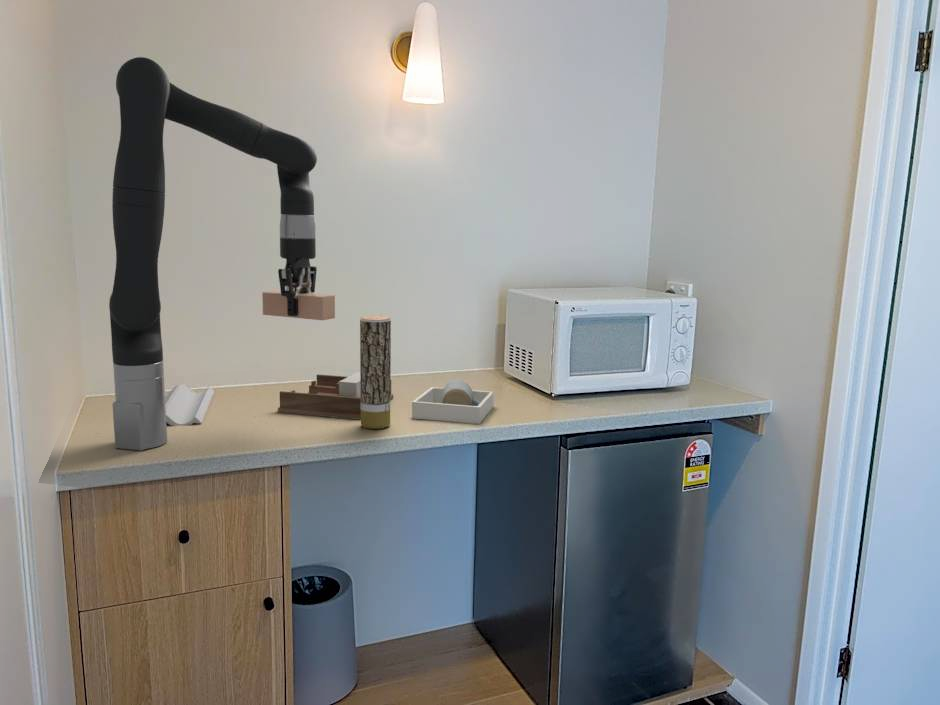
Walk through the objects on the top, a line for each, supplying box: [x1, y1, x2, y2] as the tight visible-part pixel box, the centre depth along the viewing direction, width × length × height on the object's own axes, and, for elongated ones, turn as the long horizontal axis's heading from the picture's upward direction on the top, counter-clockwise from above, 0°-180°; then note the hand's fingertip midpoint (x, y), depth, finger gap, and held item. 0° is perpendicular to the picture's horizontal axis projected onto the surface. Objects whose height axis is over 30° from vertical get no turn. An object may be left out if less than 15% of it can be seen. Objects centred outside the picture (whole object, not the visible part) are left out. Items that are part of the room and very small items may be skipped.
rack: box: [277, 374, 394, 420], centre depth 183 cm, size 22×22×5 cm
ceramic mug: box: [442, 379, 480, 406], centre depth 178 cm, size 11×8×8 cm
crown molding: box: [165, 382, 215, 426], centre depth 177 cm, size 31×12×4 cm, turn 14°
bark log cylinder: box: [359, 315, 392, 430], centre depth 164 cm, size 7×7×25 cm
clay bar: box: [261, 290, 336, 321], centre depth 159 cm, size 16×4×5 cm, turn 66°
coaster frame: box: [411, 386, 495, 425], centre depth 179 cm, size 17×17×4 cm
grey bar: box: [339, 370, 360, 398], centre depth 182 cm, size 16×4×5 cm, turn 167°
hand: (298, 314), depth 159 cm, fingers closed on clay bar, 5 cm apart
